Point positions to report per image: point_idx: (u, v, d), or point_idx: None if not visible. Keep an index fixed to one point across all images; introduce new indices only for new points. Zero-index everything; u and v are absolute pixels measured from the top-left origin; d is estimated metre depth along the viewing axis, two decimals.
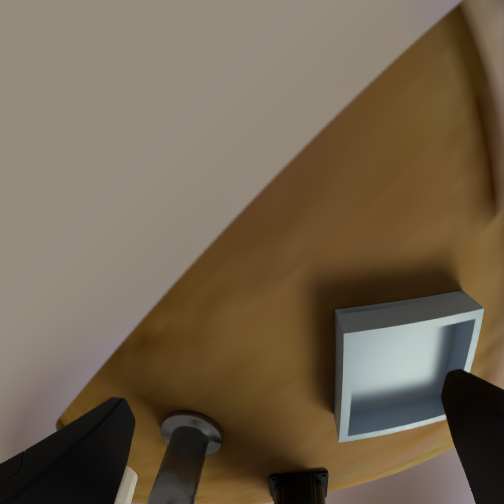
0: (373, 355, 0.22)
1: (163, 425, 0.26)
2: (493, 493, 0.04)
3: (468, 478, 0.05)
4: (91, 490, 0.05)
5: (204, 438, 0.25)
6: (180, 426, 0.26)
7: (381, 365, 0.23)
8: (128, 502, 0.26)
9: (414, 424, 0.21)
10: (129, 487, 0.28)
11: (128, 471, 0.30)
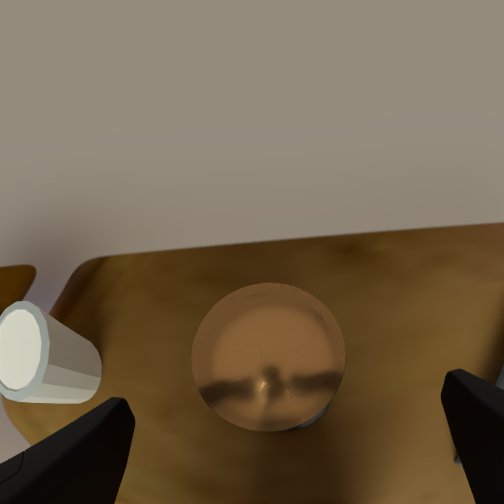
0: None
1: None
2: (493, 493, 0.04)
3: (468, 478, 0.05)
4: (91, 490, 0.05)
5: None
6: None
7: None
8: (54, 393, 0.16)
9: None
10: (77, 387, 0.18)
11: (96, 378, 0.20)
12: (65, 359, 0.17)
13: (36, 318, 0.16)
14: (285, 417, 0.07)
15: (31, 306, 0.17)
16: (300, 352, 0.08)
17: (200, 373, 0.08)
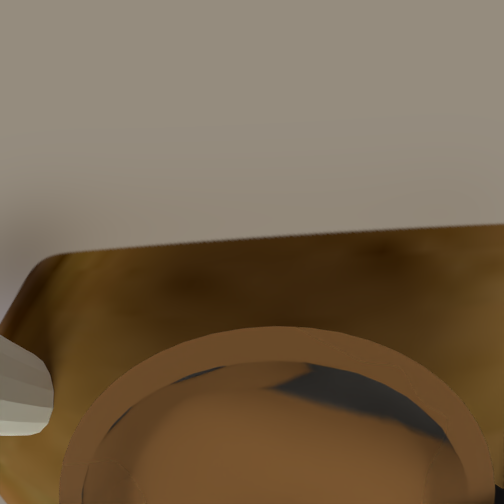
0: None
1: None
2: None
3: None
4: None
5: None
6: None
7: None
8: None
9: None
10: (18, 420, 0.11)
11: (45, 409, 0.14)
12: None
13: None
14: None
15: None
16: None
17: None
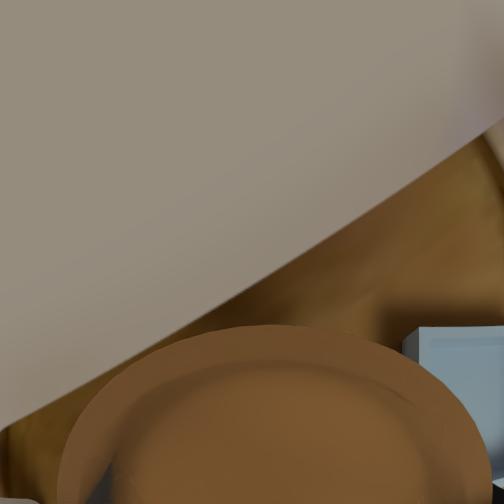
0: None
1: None
2: None
3: None
4: None
5: None
6: None
7: None
8: None
9: (496, 482, 0.10)
10: None
11: None
12: None
13: None
14: None
15: None
16: None
17: None
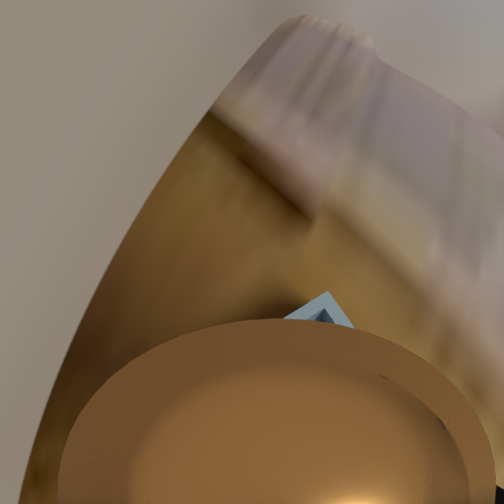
0: None
1: None
2: None
3: None
4: None
5: None
6: None
7: None
8: None
9: None
10: None
11: None
12: None
13: None
14: None
15: None
16: None
17: None
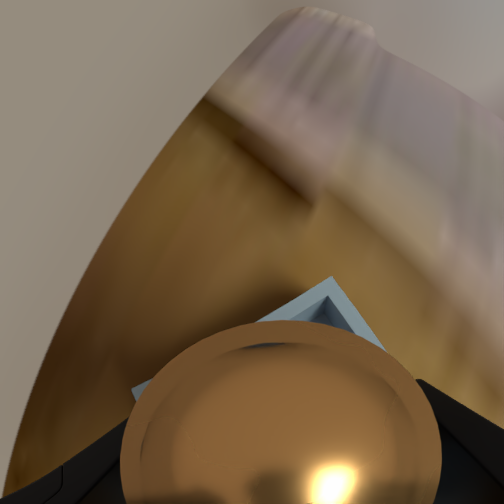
0: None
1: None
2: None
3: None
4: None
5: None
6: None
7: None
8: None
9: None
10: None
11: None
12: None
13: None
14: None
15: None
16: (350, 472, 0.03)
17: (137, 495, 0.03)
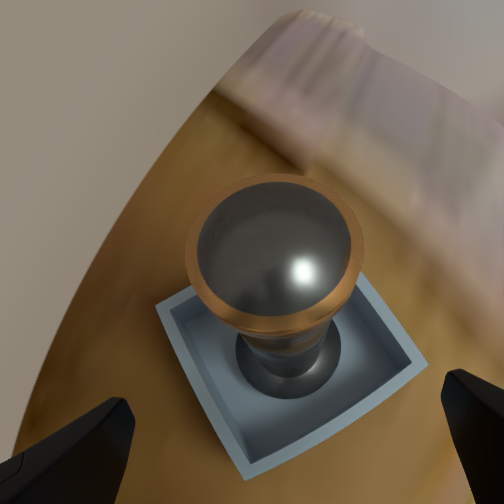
0: None
1: None
2: (493, 493, 0.04)
3: (468, 478, 0.05)
4: (91, 490, 0.05)
5: None
6: None
7: None
8: None
9: (358, 407, 0.14)
10: None
11: None
12: None
13: None
14: (295, 311, 0.06)
15: None
16: (311, 237, 0.07)
17: (194, 262, 0.07)
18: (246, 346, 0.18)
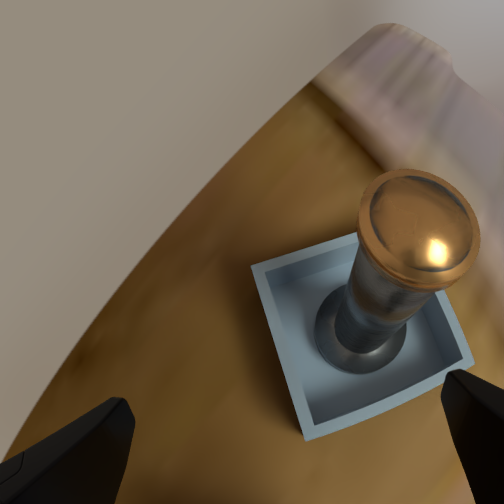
0: None
1: None
2: (493, 493, 0.04)
3: (468, 478, 0.05)
4: (91, 490, 0.05)
5: None
6: None
7: None
8: None
9: (415, 388, 0.15)
10: None
11: None
12: None
13: None
14: (438, 271, 0.08)
15: None
16: (448, 223, 0.09)
17: (367, 221, 0.09)
18: (326, 318, 0.19)
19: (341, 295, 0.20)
